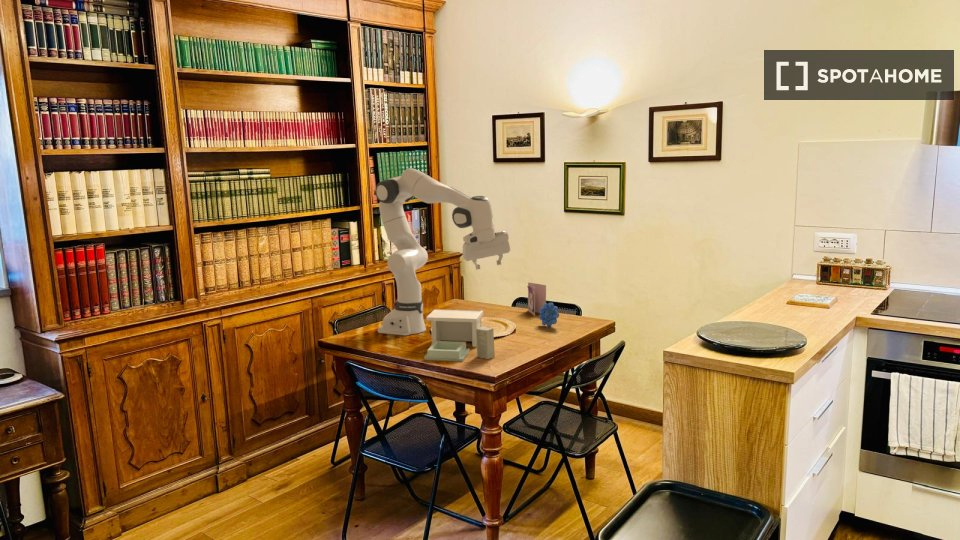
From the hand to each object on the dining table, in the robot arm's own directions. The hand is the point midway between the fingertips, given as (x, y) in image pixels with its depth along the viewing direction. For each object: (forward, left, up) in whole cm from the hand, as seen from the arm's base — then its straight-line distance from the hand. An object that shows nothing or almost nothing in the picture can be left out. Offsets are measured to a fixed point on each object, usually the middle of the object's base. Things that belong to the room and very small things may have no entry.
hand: (488, 266), depth 289 cm
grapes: (+23, +35, -35) cm, 54 cm away
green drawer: (-15, -15, -35) cm, 41 cm away
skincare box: (+1, -15, -35) cm, 38 cm away
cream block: (-15, +1, -35) cm, 38 cm away
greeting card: (+14, +60, -35) cm, 71 cm away
